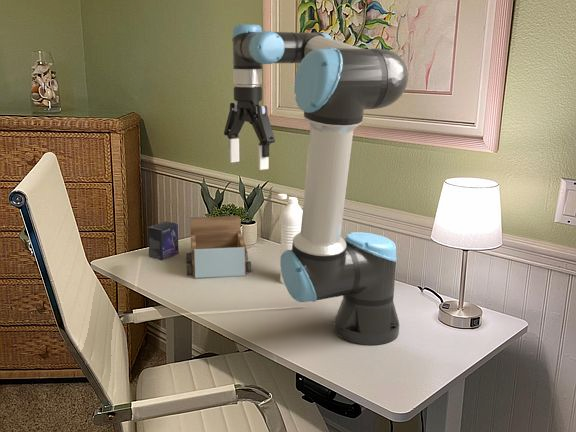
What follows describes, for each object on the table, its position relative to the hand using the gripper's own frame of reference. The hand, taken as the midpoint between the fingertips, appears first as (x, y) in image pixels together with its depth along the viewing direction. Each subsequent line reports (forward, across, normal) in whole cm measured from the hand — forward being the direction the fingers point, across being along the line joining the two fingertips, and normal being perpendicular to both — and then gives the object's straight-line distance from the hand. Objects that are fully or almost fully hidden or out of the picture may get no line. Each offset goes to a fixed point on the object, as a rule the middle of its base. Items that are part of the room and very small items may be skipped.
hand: (248, 165), depth 169 cm
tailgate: (+32, +4, +7) cm, 33 cm away
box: (+33, +31, +11) cm, 46 cm away
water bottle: (+33, -9, -7) cm, 35 cm away
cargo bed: (+33, +14, +2) cm, 35 cm away
